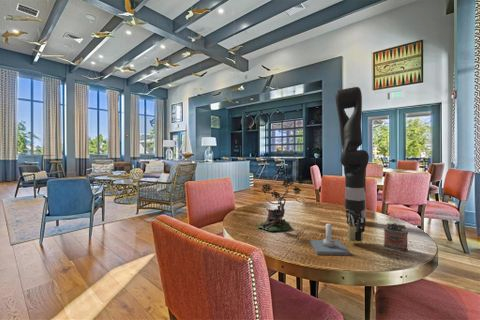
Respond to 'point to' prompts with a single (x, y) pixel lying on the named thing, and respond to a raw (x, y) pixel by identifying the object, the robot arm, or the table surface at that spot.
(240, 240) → the table surface
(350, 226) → the bushing
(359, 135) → the robot arm
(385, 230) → the small tin
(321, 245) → the grey peg stand
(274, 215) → the bonsai tree
